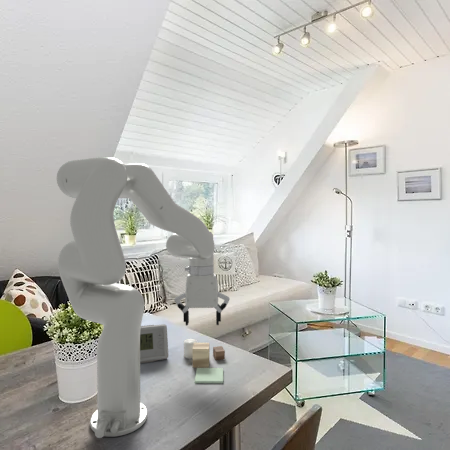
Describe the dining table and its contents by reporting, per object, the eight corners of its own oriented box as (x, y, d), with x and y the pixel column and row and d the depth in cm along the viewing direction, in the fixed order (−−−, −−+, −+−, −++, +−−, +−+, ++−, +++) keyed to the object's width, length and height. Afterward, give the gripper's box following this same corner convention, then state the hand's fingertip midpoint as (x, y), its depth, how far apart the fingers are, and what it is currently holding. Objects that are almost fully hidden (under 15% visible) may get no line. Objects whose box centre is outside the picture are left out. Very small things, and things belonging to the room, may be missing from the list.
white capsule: (196, 358, 113) (196, 343, 112) (183, 358, 113) (183, 343, 112) (197, 353, 117) (197, 338, 117) (184, 353, 117) (184, 338, 117)
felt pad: (223, 383, 97) (223, 381, 97) (194, 383, 97) (194, 381, 97) (223, 369, 105) (223, 368, 105) (197, 369, 105) (197, 367, 105)
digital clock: (114, 367, 106) (114, 333, 106) (120, 354, 115) (119, 323, 115) (167, 364, 109) (167, 331, 108) (168, 352, 117) (168, 322, 117)
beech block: (208, 367, 106) (208, 348, 106) (192, 367, 106) (192, 348, 106) (209, 360, 111) (209, 342, 111) (193, 360, 111) (194, 342, 111)
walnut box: (224, 359, 112) (224, 350, 112) (215, 360, 111) (215, 351, 111) (221, 354, 116) (221, 346, 116) (213, 355, 115) (213, 346, 115)
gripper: (172, 273, 104) (173, 328, 105) (229, 272, 104) (229, 328, 105) (175, 268, 111) (176, 320, 113) (229, 267, 111) (229, 319, 113)
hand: (202, 323), depth 109 cm, fingers open, 9 cm apart
